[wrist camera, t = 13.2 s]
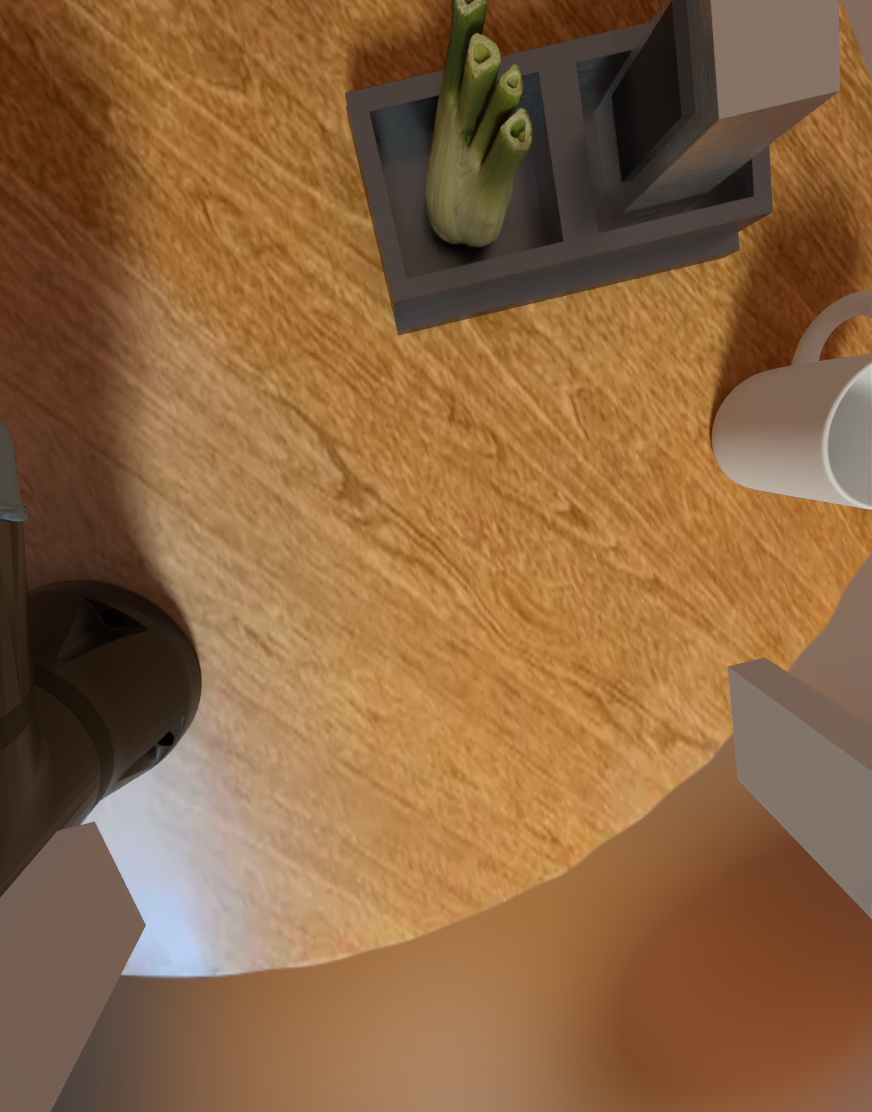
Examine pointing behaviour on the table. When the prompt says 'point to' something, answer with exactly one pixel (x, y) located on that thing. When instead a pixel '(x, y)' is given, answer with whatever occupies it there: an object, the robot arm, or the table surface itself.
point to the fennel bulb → (474, 135)
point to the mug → (804, 420)
